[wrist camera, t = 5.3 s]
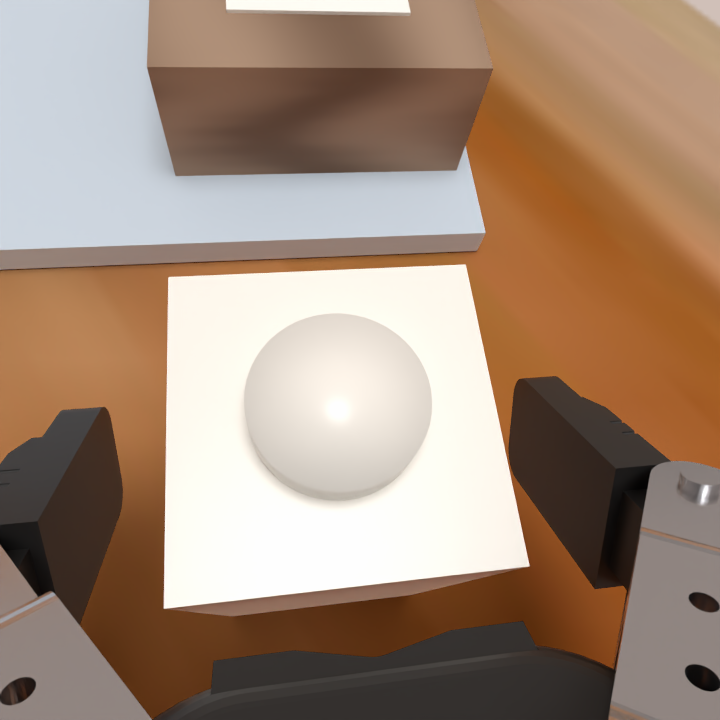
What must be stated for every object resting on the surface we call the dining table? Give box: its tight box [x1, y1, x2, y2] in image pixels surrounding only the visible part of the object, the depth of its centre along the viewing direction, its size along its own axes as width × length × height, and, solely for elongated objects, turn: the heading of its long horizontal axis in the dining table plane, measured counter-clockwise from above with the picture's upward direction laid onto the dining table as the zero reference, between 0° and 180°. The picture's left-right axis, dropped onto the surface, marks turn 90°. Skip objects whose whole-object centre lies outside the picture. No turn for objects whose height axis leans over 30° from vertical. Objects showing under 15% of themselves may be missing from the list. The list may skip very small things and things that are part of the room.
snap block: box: [164, 265, 529, 616], centre depth 12 cm, size 4×4×9 cm
